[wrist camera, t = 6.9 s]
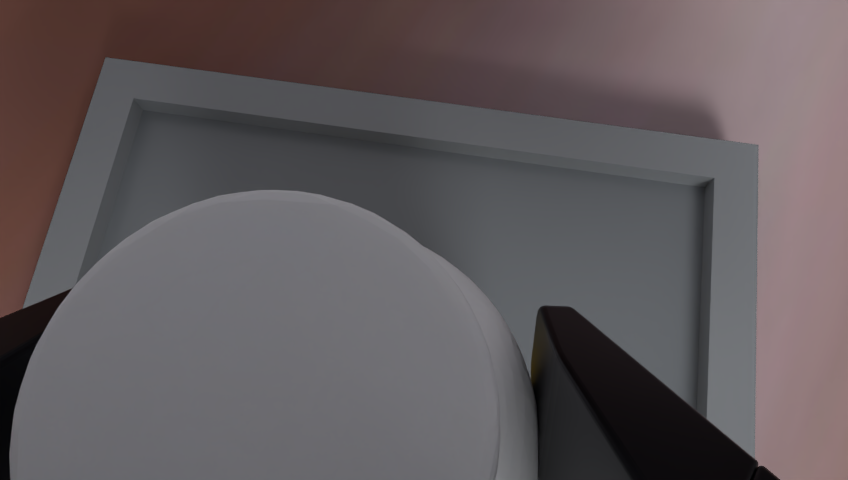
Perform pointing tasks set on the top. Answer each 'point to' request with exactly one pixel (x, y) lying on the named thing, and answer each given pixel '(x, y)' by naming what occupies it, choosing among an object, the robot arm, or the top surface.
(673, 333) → the gray tray
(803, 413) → the top surface
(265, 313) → the supplement bottle
